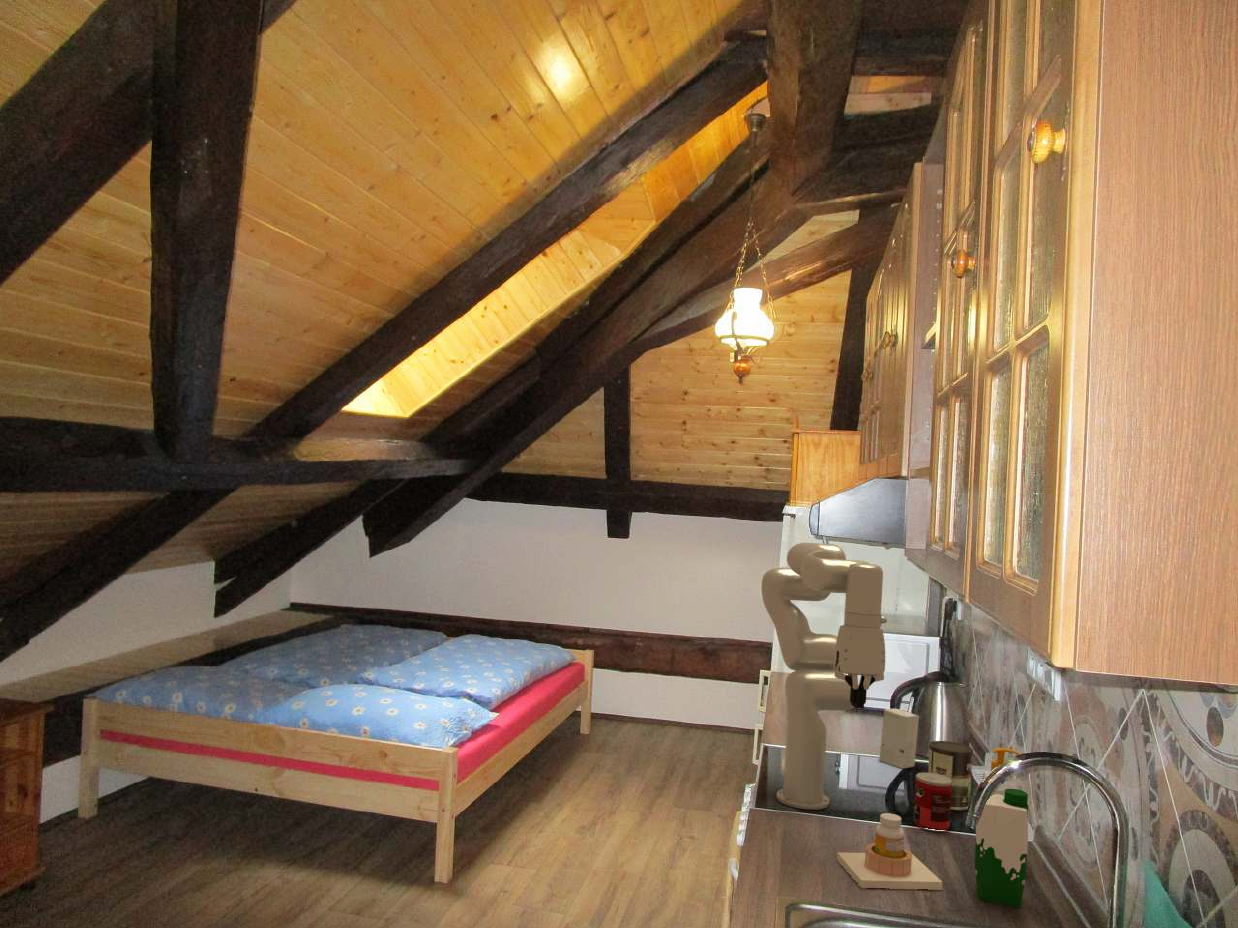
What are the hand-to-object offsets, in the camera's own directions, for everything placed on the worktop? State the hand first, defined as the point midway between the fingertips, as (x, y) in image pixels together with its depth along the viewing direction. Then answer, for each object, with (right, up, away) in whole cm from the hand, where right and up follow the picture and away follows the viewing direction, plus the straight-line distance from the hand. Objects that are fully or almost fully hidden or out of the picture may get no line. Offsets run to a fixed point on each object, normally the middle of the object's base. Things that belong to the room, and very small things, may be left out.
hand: (857, 706), depth 190 cm
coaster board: (+2, -29, -16) cm, 33 cm away
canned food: (+21, -31, +13) cm, 40 cm away
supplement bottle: (+2, -27, -16) cm, 32 cm away
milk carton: (+20, -30, -23) cm, 43 cm away
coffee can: (+31, -33, +31) cm, 54 cm away
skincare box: (+28, -34, +62) cm, 76 cm away
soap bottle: (+28, -31, -4) cm, 42 cm away
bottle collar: (+2, -27, -16) cm, 31 cm away
